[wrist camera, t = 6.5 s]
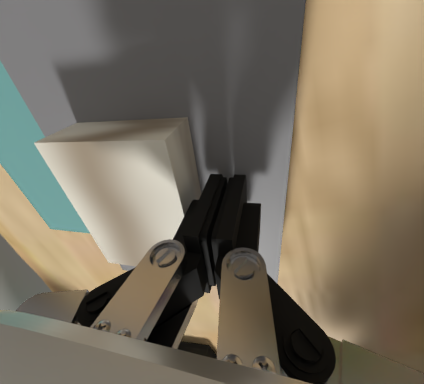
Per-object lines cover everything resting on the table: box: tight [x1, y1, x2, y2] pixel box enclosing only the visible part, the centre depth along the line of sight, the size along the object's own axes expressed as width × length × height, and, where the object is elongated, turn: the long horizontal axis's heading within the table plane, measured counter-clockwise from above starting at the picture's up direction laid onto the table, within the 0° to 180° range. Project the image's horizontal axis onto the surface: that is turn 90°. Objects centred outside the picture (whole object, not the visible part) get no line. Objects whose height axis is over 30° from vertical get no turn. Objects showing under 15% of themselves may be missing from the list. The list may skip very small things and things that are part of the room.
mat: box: [0, 61, 90, 233], centre depth 18 cm, size 12×18×1 cm, turn 7°
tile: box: [34, 117, 201, 266], centre depth 11 cm, size 6×8×2 cm
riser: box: [0, 0, 306, 283], centre depth 14 cm, size 13×18×4 cm
